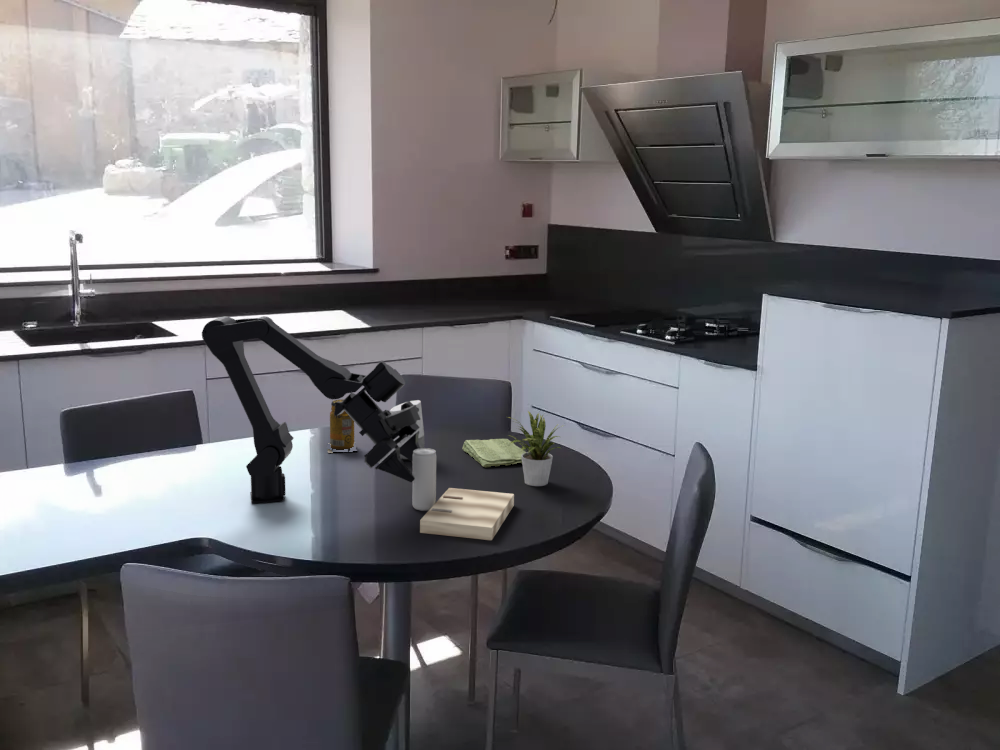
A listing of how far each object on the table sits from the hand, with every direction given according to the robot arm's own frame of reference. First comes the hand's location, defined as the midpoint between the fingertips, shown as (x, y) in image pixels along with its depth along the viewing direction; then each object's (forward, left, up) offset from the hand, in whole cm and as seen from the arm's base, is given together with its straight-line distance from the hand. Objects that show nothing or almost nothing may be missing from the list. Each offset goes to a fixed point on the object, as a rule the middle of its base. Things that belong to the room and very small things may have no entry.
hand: (420, 474), depth 183 cm
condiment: (-10, +47, -7) cm, 48 cm away
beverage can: (+1, -1, -7) cm, 7 cm away
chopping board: (+8, -9, -7) cm, 14 cm away
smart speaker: (+4, +36, -7) cm, 36 cm away
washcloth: (+26, +31, -8) cm, 41 cm away
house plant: (+28, +11, -7) cm, 31 cm away
